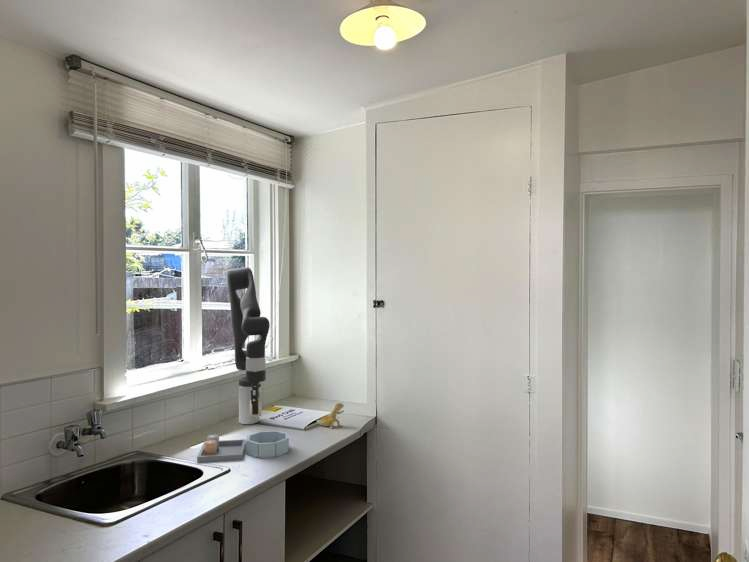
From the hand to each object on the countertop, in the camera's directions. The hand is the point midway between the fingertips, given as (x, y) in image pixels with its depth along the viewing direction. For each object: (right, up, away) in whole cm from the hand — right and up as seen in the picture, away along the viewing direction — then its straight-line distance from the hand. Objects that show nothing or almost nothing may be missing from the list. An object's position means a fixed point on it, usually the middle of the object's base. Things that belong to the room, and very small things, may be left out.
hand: (255, 412), depth 205 cm
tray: (-12, -15, -2) cm, 20 cm away
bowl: (+4, -15, +1) cm, 16 cm away
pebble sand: (0, -1, 0) cm, 1 cm away
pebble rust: (-16, -15, -6) cm, 23 cm away
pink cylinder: (-17, -15, +1) cm, 23 cm away
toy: (+25, -15, +33) cm, 44 cm away
